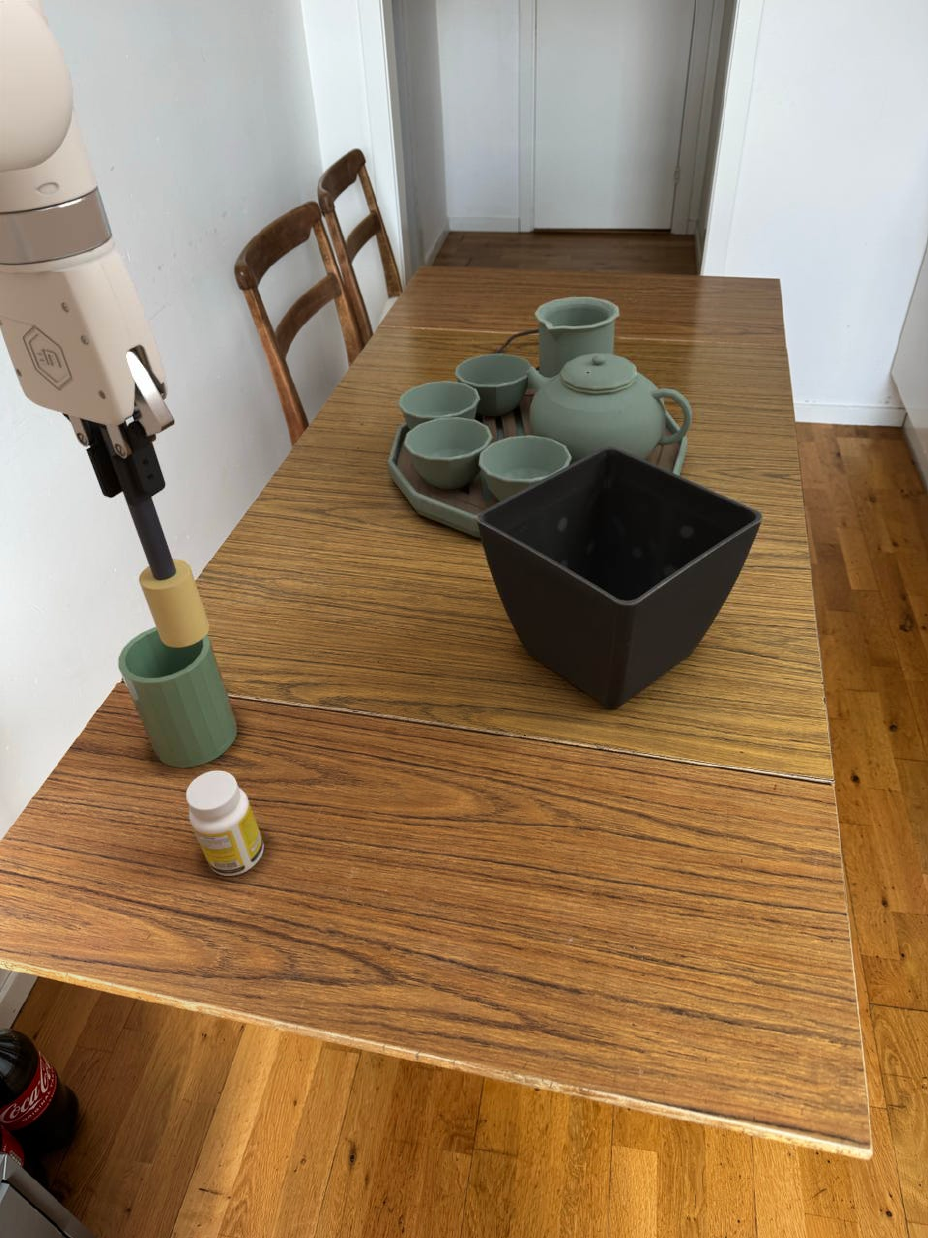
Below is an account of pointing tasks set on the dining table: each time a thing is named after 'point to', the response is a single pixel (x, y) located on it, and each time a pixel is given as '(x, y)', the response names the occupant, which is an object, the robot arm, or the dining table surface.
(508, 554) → the flower pot
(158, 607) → the bottle brush
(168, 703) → the green pencil cup
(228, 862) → the supplement bottle
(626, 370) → the tea set
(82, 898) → the dining table surface
